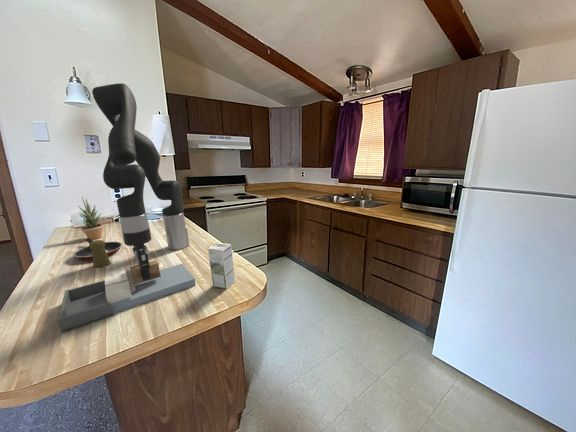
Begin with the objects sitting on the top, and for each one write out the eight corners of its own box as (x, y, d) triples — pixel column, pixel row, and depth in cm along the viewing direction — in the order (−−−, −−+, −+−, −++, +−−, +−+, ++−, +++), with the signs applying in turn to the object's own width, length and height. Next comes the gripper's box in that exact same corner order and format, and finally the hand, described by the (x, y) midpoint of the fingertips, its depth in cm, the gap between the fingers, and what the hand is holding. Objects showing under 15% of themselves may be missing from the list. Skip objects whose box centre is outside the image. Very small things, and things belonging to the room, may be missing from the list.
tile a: (129, 289, 78) (128, 280, 78) (132, 297, 74) (130, 288, 73) (107, 295, 75) (105, 287, 74) (108, 304, 70) (105, 295, 70)
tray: (110, 289, 83) (107, 279, 82) (112, 315, 70) (109, 303, 68) (68, 301, 77) (65, 290, 76) (62, 332, 63) (57, 319, 62)
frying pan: (79, 267, 102) (77, 259, 101) (65, 250, 122) (63, 243, 121) (129, 252, 116) (127, 245, 115) (109, 239, 136) (108, 233, 135)
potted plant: (91, 236, 143) (81, 195, 136) (108, 235, 144) (99, 194, 137) (79, 242, 133) (67, 198, 127) (97, 240, 134) (87, 197, 128)
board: (183, 269, 97) (182, 263, 96) (195, 285, 84) (194, 278, 84) (110, 290, 83) (108, 284, 82) (112, 313, 70) (110, 306, 70)
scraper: (155, 267, 89) (153, 255, 88) (164, 282, 78) (161, 268, 77) (126, 276, 84) (123, 262, 82) (131, 293, 73) (127, 278, 72)
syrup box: (235, 281, 86) (232, 243, 82) (226, 289, 81) (222, 249, 77) (222, 278, 88) (217, 241, 84) (212, 287, 83) (207, 248, 79)
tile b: (127, 280, 84) (125, 272, 84) (129, 287, 80) (127, 278, 79) (106, 286, 81) (104, 278, 80) (107, 293, 76) (105, 285, 75)
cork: (101, 268, 100) (95, 243, 97) (89, 267, 101) (83, 243, 98) (114, 262, 105) (108, 238, 102) (103, 261, 106) (97, 238, 104)
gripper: (153, 230, 74) (162, 281, 78) (145, 221, 84) (154, 266, 89) (123, 236, 69) (135, 289, 74) (120, 226, 80) (130, 272, 84)
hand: (145, 276), depth 81 cm, fingers closed on scraper, 3 cm apart
